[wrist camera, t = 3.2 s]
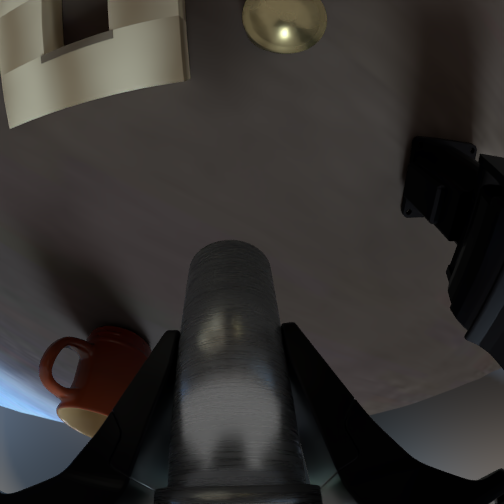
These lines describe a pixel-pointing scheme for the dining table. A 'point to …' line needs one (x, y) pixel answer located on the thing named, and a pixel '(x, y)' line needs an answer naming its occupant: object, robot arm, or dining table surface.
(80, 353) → the mug
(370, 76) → the dining table surface
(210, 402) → the long pin
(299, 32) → the short pin
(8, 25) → the socket board
